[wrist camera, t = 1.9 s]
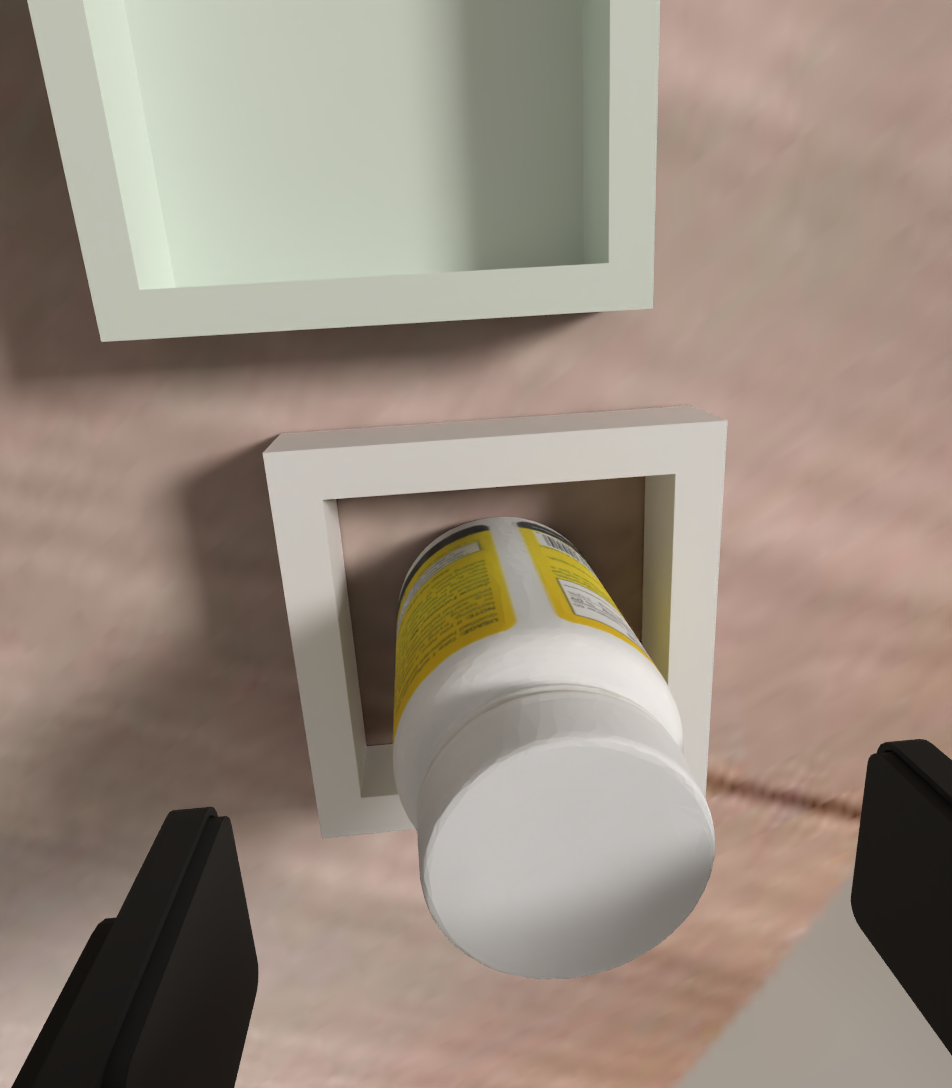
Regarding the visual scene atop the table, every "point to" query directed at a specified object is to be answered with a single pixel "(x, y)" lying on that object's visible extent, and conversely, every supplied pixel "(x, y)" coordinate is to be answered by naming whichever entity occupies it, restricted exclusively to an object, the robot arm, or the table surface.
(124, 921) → the robot arm
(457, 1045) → the table surface
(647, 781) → the supplement bottle
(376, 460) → the collar holder
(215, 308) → the tray
